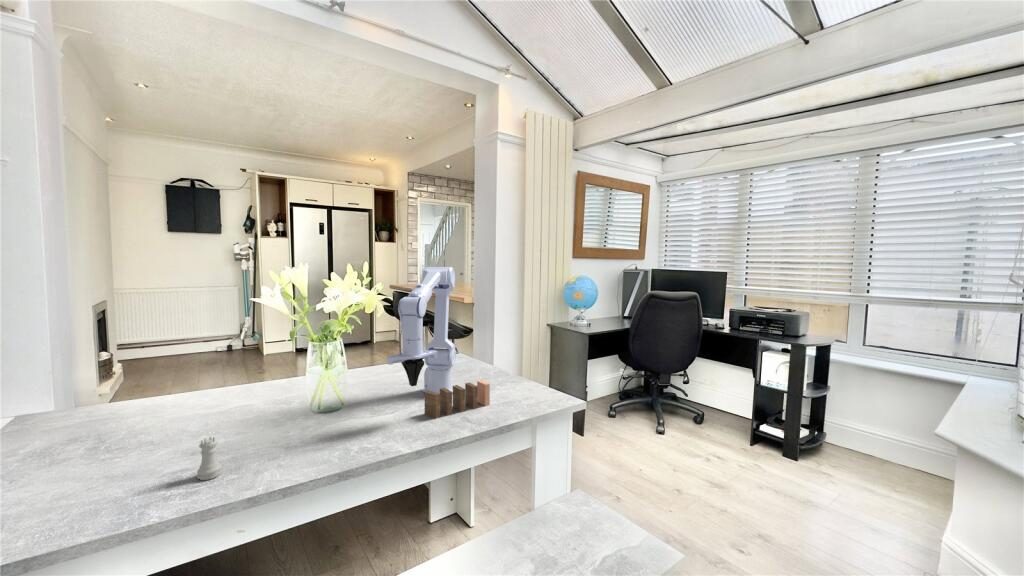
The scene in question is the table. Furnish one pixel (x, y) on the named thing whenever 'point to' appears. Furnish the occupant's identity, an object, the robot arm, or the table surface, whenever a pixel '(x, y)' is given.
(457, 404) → the domino
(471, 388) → the domino
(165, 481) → the table surface
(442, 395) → the domino
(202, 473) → the rook chess piece
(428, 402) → the domino
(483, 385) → the domino
